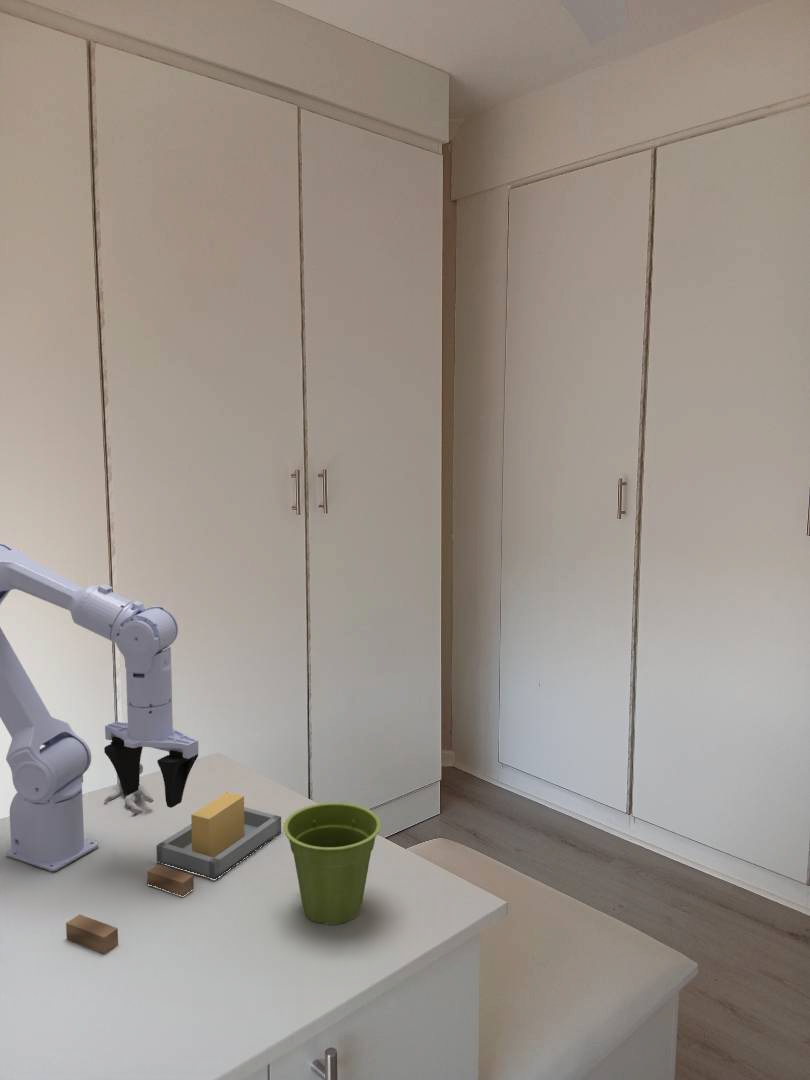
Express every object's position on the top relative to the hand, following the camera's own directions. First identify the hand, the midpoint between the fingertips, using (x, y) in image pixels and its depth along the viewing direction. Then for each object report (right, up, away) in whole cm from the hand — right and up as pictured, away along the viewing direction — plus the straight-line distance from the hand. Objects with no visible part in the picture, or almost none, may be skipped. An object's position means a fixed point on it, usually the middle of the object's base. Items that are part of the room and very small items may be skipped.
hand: (152, 798), depth 114 cm
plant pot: (+25, -11, -9) cm, 29 cm away
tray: (+8, -9, +6) cm, 13 cm away
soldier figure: (-9, -7, +21) cm, 24 cm away
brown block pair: (+1, -11, -10) cm, 15 cm away
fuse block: (+8, -8, +6) cm, 13 cm away
